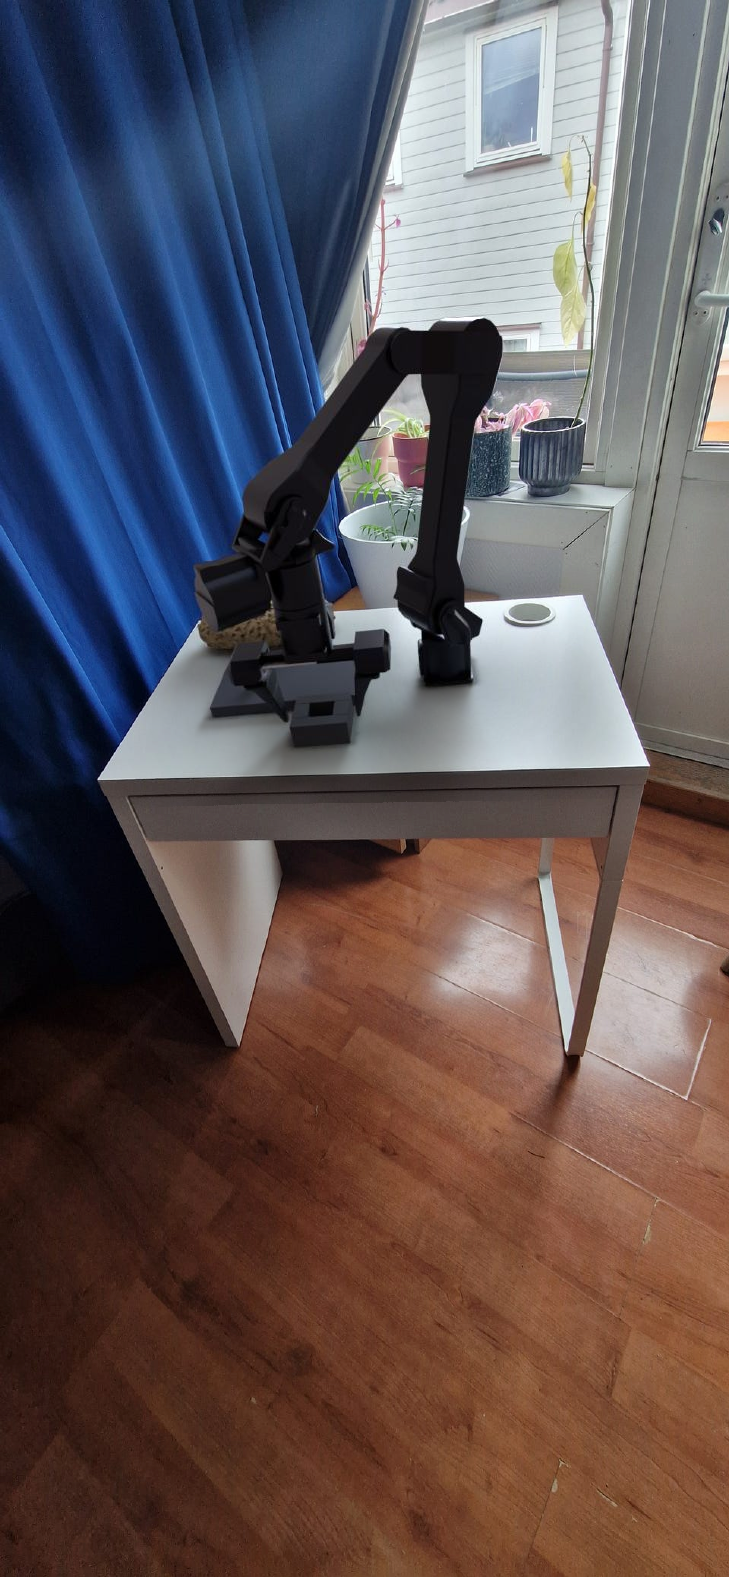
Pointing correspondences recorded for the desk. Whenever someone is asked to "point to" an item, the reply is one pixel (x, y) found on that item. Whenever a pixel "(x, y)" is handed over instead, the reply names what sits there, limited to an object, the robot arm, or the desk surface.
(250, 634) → the sponge
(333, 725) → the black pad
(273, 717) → the desk surface
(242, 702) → the base pad
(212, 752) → the desk surface
